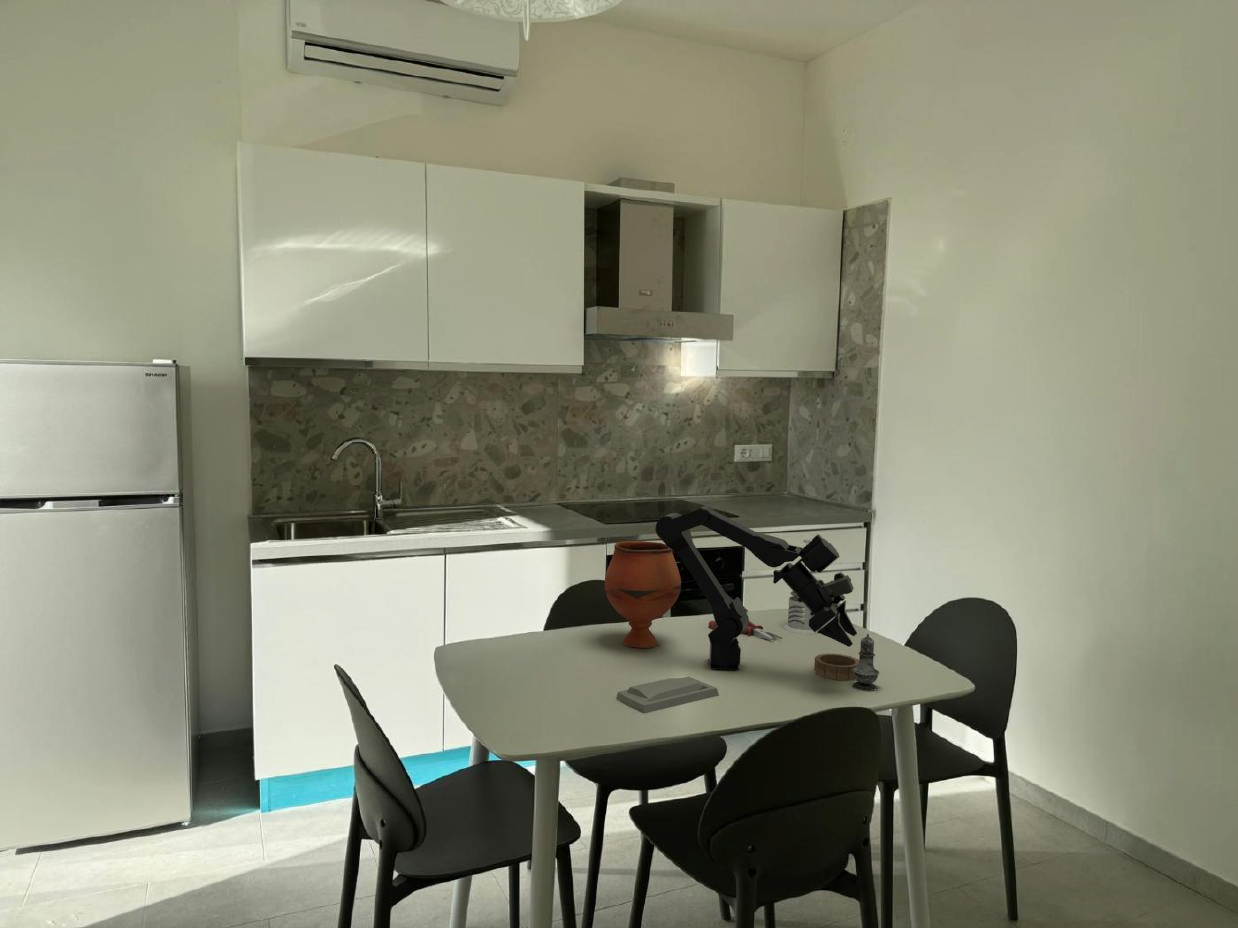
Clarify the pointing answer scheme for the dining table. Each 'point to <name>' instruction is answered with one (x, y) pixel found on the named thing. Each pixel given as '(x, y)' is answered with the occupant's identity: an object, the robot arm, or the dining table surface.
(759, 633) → the pliers
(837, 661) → the shaker socket
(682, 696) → the grey stepped rectangular block
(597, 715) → the dining table surface
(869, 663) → the salt shaker
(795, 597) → the french press
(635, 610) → the goblet
